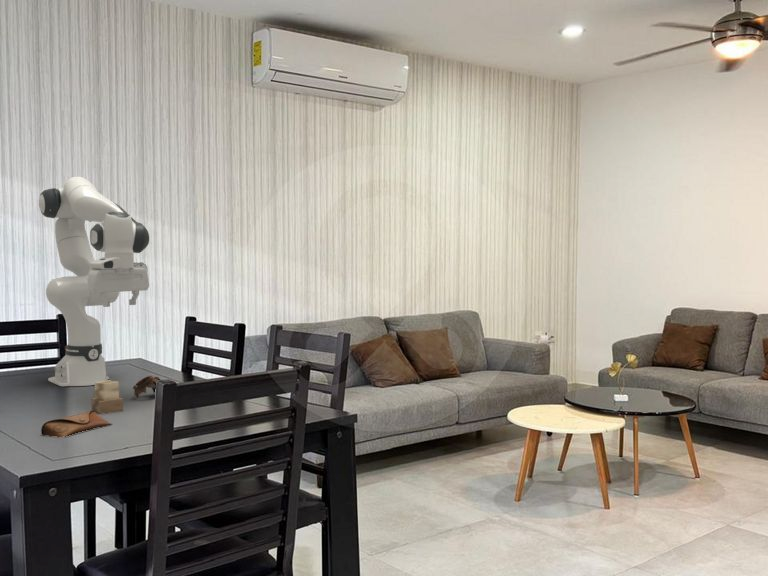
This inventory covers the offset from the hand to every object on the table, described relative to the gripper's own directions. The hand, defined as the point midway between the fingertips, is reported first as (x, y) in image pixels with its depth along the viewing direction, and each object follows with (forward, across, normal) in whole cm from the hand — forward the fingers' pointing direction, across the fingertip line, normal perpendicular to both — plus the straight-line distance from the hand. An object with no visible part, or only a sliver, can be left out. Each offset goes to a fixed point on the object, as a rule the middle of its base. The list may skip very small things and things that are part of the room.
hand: (119, 305), depth 245 cm
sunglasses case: (+32, +28, +23) cm, 48 cm away
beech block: (+27, +10, +8) cm, 30 cm away
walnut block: (+32, +10, +8) cm, 34 cm away
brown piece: (+31, -11, +1) cm, 33 cm away
